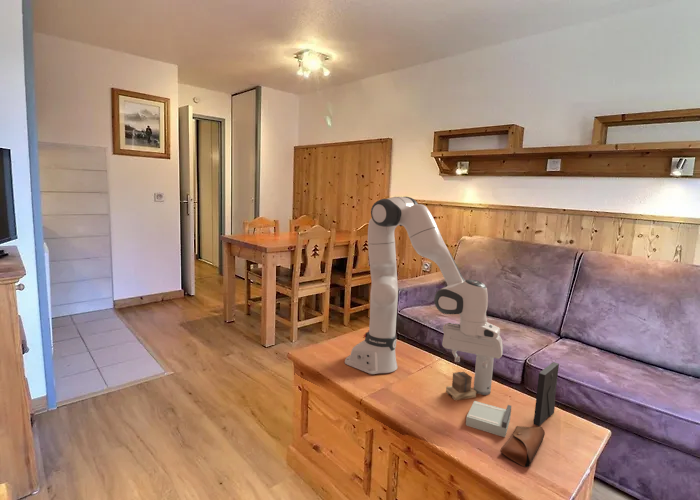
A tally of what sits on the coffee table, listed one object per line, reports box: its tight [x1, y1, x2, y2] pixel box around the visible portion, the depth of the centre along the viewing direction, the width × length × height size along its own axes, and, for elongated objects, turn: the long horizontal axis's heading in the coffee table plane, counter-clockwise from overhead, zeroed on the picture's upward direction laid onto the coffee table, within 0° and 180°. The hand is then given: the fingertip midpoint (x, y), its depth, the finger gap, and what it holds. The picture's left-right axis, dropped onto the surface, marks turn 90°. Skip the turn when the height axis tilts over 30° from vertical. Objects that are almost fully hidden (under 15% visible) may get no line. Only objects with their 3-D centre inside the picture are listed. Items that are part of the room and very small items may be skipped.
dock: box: [465, 400, 512, 438], centre depth 129 cm, size 12×12×5 cm
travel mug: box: [473, 354, 495, 396], centre depth 149 cm, size 6×7×20 cm
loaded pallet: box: [445, 371, 477, 401], centre depth 147 cm, size 9×6×8 cm, turn 109°
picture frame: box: [533, 362, 560, 427], centre depth 132 cm, size 13×2×18 cm, turn 135°
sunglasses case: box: [499, 425, 546, 468], centre depth 116 cm, size 18×7×7 cm
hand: (470, 364), depth 139 cm, fingers open, 8 cm apart
